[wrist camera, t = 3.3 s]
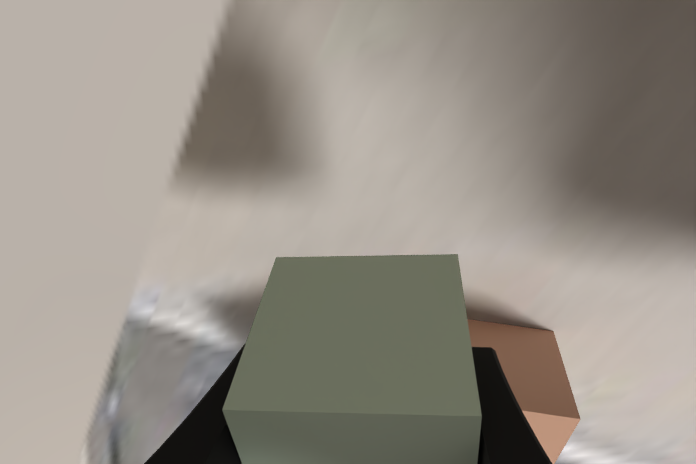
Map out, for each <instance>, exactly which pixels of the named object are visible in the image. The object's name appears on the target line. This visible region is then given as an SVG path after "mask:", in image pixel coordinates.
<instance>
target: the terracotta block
mask: <svg viewBox="0 0 696 464" xmlns="http://www.w3.org/2000/svg"><path fill="white" fill-rule="evenodd" d="M467 320H468V327H469V334H470V340H471V347H491V348H493V349H494V350H495V351H496V354H497V357H498V359H499V362H500V365H501V367H502V370H503V372H504V374H505V377H506V379H507V381H508V383H509V385H510V388H511V390H512V392H513V394H514V396H515V398H516V400H517V402H518V404H519V406H520V408H521V410H522V412H523V414H524V415H525V417H526V419H527V421H528V423H529V424H530V426H531V428H532V430H533V432H534V433H535V435H536V437H537V439H538V441H539V442H540V444H541V446H542V447H543V449H544V451H545V452H546V454H547V456H548V457H549V459H550V461H551V462H552V464H554V463H555V462H556V460H557V458H558V456H559V455H560V453H561V451H562V450H563V448H564V446H565V445H566V443H567V441H568V440H569V438H570V436H571V434H572V433H573V431H574V429H575V428H576V426H577V424H578V423H579V421H580V416H579V413H578V410H577V406H576V403H575V400H574V397H573V393H572V390H571V387H570V384H569V380H568V377H567V374H566V371H565V367H564V364H563V361H562V358H561V354H560V351H559V348H558V345H557V341H556V338H555V335H554V332H553V331H548V330H541V329H534V328H527V327H520V326H513V325H506V324H499V323H492V322H485V321H478V320H471V319H467Z"/></svg>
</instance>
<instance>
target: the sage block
mask: <svg viewBox="0 0 696 464" xmlns="http://www.w3.org/2000/svg"><path fill="white" fill-rule="evenodd" d="M222 411H223V414H224V416H225V419H226V422H227V424H228V427H229V430H230V432H231V435H232V438H233V441H234V443H235V446H236V449H237V451H238V454H239V457H240V459H241V462H242V464H477V462H478V451H479V441H480V430H481V420H482V414H481V407H480V401H479V394H478V387H477V381H476V374H475V367H474V360H473V354H472V347H471V340H470V334H469V327H468V320H467V314H466V307H465V300H464V294H463V287H462V280H461V273H460V267H459V260H458V254H450V255H390V256H331V257H276V259H275V262H274V265H273V268H272V271H271V274H270V276H269V279H268V282H267V285H266V288H265V291H264V293H263V296H262V299H261V302H260V305H259V307H258V310H257V313H256V316H255V319H254V322H253V324H252V327H251V330H250V333H249V336H248V339H247V341H246V344H245V347H244V350H243V353H242V355H241V358H240V361H239V364H238V367H237V370H236V372H235V375H234V378H233V381H232V384H231V386H230V389H229V392H228V395H227V398H226V401H225V403H224V406H223V409H222Z"/></svg>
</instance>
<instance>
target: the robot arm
mask: <svg viewBox="0 0 696 464" xmlns="http://www.w3.org/2000/svg"><path fill="white" fill-rule="evenodd" d="M244 347H245V345H244V346H243V347H242V349H241V350H240V351H239V352H238V354H237V355H236V356H235V358H234V359H233V360H232V362H231V363H230V364H229V366H228V367H227V368H226V370H225V371H224V372H223V373H222V375H221V376H220V377H219V378H218V380H217V381H216V382H215V384H214V385H213V386H212V387H211V389H210V390H209V391H208V392H207V394H206V395H205V396H204V397H203V398H202V400H201V401H200V402H199V403H198V404H197V406H196V407H195V408H194V409H193V410H192V412H191V413H190V414H189V415H188V416H187V418H186V419H185V420H184V421H183V422H182V423H181V424H180V425H179V427H178V428H177V429H176V430H175V431H174V432H173V433H172V434H171V435H170V437H169V438H168V439H167V440H166V441H165V442H164V443H163V444H162V445H161V447H160V448H159V449H158V450H157V451H156V452H155V453H154V454H153V455H152V456H151V457H150V458H149V459H148V460H147V461H146V462H145V463H144V464H242V462H241V459H240V457H239V454H238V451H237V449H236V446H235V443H234V441H233V438H232V435H231V432H230V430H229V427H228V424H227V422H226V419H225V416H224V414H223V411H222V409H223V406H224V403H225V401H226V398H227V395H228V392H229V389H230V386H231V384H232V381H233V378H234V375H235V372H236V370H237V367H238V364H239V361H240V358H241V355H242V353H243V350H244ZM472 354H473V360H474V367H475V374H476V381H477V387H478V394H479V401H480V407H481V414H482V420H481V430H480V441H479V451H478V462H477V464H552V462H551V461H550V459H549V457H548V456H547V454H546V452H545V451H544V449H543V447H542V446H541V444H540V442H539V441H538V439H537V437H536V435H535V433H534V432H533V430H532V428H531V426H530V424H529V423H528V421H527V419H526V417H525V415H524V414H523V412H522V410H521V408H520V406H519V404H518V402H517V400H516V398H515V396H514V394H513V392H512V390H511V388H510V385H509V383H508V381H507V379H506V377H505V374H504V372H503V370H502V367H501V365H500V362H499V359H498V357H497V354H496V351H495V350H494V349H493V348H491V347H472Z"/></svg>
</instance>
